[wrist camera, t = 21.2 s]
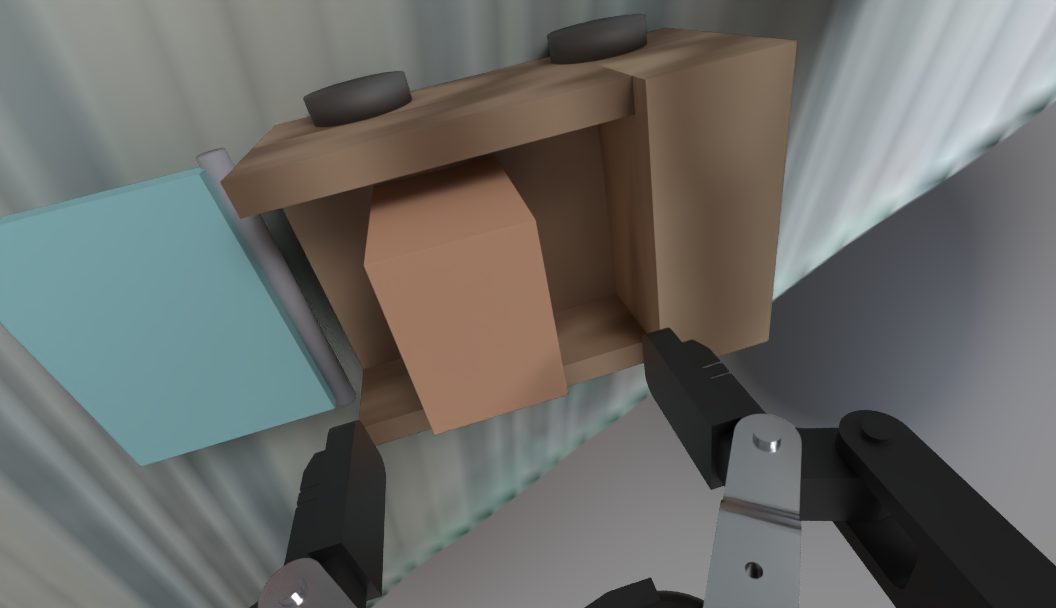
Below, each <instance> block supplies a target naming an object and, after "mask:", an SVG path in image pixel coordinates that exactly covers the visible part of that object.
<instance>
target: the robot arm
mask: <svg viewBox="0 0 1056 608" xmlns="http://www.w3.org/2000/svg"><path fill="white" fill-rule="evenodd" d="M642 345H643V356H644V367H645V376H646V381H647V384H648V387H649V389H650V392H651V394H652V396H653V397H654V399H655V401H656V402H657V404H658V406H659V407H660V409H661V410H662V412H663V414H664V415H665V417H666V418H667V420H668V421H669V423H670V425H671V426H672V428H673V430H674V431H675V433H676V434H677V436H678V438H679V439H680V441H681V442H682V444H683V446H684V447H685V449H686V451H687V452H688V454H689V455H690V457H691V459H692V460H693V462H694V463H695V465H696V467H697V468H698V470H699V471H700V473H701V475H702V476H703V478H704V480H705V481H706V483H707V484H708V486H709V487H710V489H711V490H712V489H715V488H718V487H721V486H725V490H724V496H723V500H721V503H720V508H719V514H718V520H717V526H716V532H715V539H714V544H713V550H712V556H711V562H710V568H709V574H708V580H707V586H706V593H705V599H704V600H702V599H699V598H697V597H694V596H691V595H689V594H684V593H680V592H674V591H657V590H656V588H655V586H654V583H653V581H652V579H651V578H648V579H645V580H642V581H639V582H636V583H633V584H630V585H627V586H624V587H621V588H618V589H615V590H612V591H609V592H607V593H605V594H604V595H603V596H601V597H600V598H598V599H597V600H595V601H594V602H592V603H591V604H589V605H588V606H586V607H585V608H799V594H800V593H799V592H800V560H801V521H833V523H834V524H835V525H836V527H837V528H838V529H839V531H840V532H841V533H842V535H843V536H844V537H845V539H846V540H847V542H848V543H849V544H850V546H851V547H852V548H853V550H854V551H855V552H856V554H857V555H858V556H859V558H860V559H861V561H862V562H863V563H864V565H865V566H866V567H867V569H868V570H869V572H870V573H871V574H872V575H873V577H874V578H875V580H876V581H877V582H878V584H879V585H880V586H881V588H882V589H883V591H884V592H885V593H886V595H887V596H888V597H889V599H890V600H891V601H892V603H893V604H894V605H895V607H896V608H1056V566H1055V565H1054V564H1053V563H1052V562H1051V561H1050V560H1049V559H1048V558H1046V556H1045V555H1043V554H1042V553H1041V552H1040V551H1039V550H1038V549H1037V548H1036V547H1035V546H1034V545H1033V544H1032V543H1031V542H1030V541H1029V540H1027V539H1026V538H1025V537H1024V536H1023V535H1022V534H1021V533H1020V532H1019V531H1018V530H1017V529H1016V528H1015V527H1014V526H1013V525H1011V524H1010V523H1009V522H1008V521H1007V520H1006V519H1005V518H1004V517H1003V516H1002V515H1001V514H1000V513H999V512H998V511H997V510H996V509H994V508H993V507H992V506H991V505H990V504H989V503H988V502H987V501H986V500H985V499H984V498H983V497H982V496H981V495H979V494H978V493H977V492H976V491H975V490H974V489H973V488H972V487H971V486H970V485H969V484H968V483H967V482H966V481H965V480H964V479H963V478H962V477H960V476H959V475H958V474H957V473H956V472H955V471H954V470H953V469H952V468H951V467H950V466H949V465H948V464H947V463H946V462H944V461H943V460H942V459H941V458H940V457H939V456H938V455H937V454H936V453H935V452H934V451H933V450H932V449H931V448H929V447H928V446H927V445H926V444H925V443H924V442H923V441H922V440H921V439H920V438H919V437H918V436H917V435H916V434H915V433H914V432H912V430H910V429H909V428H908V427H907V426H906V425H905V424H904V423H902V422H901V421H899V420H898V419H896V418H894V417H892V416H890V415H887V414H885V413H881V412H877V411H871V410H859V411H854V412H851V413H849V414H847V415H845V416H844V417H843V418H842V419H841V421H840V424H839V428H808V429H807V428H796V427H794V426H793V425H791V424H790V423H789V422H787V421H786V420H784V419H782V418H780V417H777V416H773V415H769V414H766V413H765V412H764V411H763V410H762V409H761V407H760V406H759V405H758V404H757V403H756V401H755V400H754V399H753V398H752V397H751V396H750V395H749V393H747V391H746V390H745V389H744V388H743V386H742V385H741V384H740V383H739V382H738V381H737V380H736V378H735V377H734V376H733V375H732V374H730V373H729V370H728V369H727V368H726V367H725V366H724V365H723V364H721V362H720V360H719V359H718V358H717V356H716V355H715V354H714V353H713V352H712V351H711V350H710V348H708V347H706V346H704V345H703V344H701V343H699V342H697V341H695V340H693V339H692V340H688V341H685V342H681V340H680V339H679V338H678V337H677V335H676V334H675V333H674V332H673V330H672V329H671V328H669V327H667V328H664V329H661V330H657V331H654V332H651V333H647V334H644V335H643V336H642ZM385 489H386V473H385V467H384V463H383V460H382V457H381V455H380V453H379V452H378V450H377V448H376V446H375V445H374V443H373V441H372V439H371V437H370V436H369V434H368V432H367V430H366V429H365V427H364V425H363V424H362V422H361V421H359V420H356V421H353V422H350V423H347V424H343V425H340V426H337V427H333V428H331V429H330V430H329V432H328V437H327V443H326V449H325V450H324V451H321V452H318V453H315V454H314V456H313V457H312V459H311V460H310V462H309V464H308V465H307V467H306V469H305V470H304V473H303V477H302V482H301V487H300V491H301V493H299V496H298V501H297V506H298V507H297V508H296V511H295V516H294V520H293V525H292V530H291V535H290V539H289V544H288V549H287V554H286V559H285V563H284V566H283V567H282V568H280V569H279V570H278V571H277V572H276V573H275V574H274V575H273V576H272V577H271V578H270V579H269V581H268V582H267V583H266V585H265V587H264V588H263V590H262V592H261V595H260V597H259V601H258V602H257V603H255V604H254V605H253V606H251V607H250V608H366V601H368V600H371V599H374V598H377V597H380V596H382V572H383V544H384V517H385Z"/></svg>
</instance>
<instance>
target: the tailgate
mask: <svg viewBox="0 0 1056 608" xmlns="http://www.w3.org/2000/svg"><path fill="white" fill-rule="evenodd" d="M196 159H197V161H198V163H199V164H200V166H201V167H198V168H194V169H190V170H186V171H182V172H178V173H174V174H170V175H166V176H162V177H159V178H155V179H151V180H147V181H143V182H139V183H135V184H131V185H127V186H123V187H119V188H115V189H111V190H107V191H103V192H99V193H95V194H91V195H88V196H84V197H80V198H76V199H72V200H68V201H64V202H60V203H56V204H52V205H48V206H44V207H40V208H36V209H32V210H28V211H24V212H20V213H17V214H13V215H9V216H5V217H1V218H0V322H1V323H2V324H3V325H4V326H5V327H6V328H7V329H8V330H9V332H10V333H11V334H12V335H13V336H14V337H15V338H16V339H17V340H18V341H19V342H20V343H21V344H22V345H23V346H24V347H25V348H26V349H27V350H28V351H29V352H30V353H31V354H32V355H33V356H34V357H35V358H36V359H37V360H38V361H39V362H40V363H41V364H42V365H43V366H44V367H45V368H46V369H47V370H48V372H49V373H50V374H51V375H52V376H53V377H54V378H55V379H56V380H57V381H58V382H59V383H60V384H61V385H62V386H63V387H64V388H65V389H66V390H67V391H68V392H69V393H70V394H71V395H72V396H73V397H74V398H75V399H76V400H77V401H78V402H79V403H80V404H81V405H82V406H83V407H84V408H85V409H86V410H87V412H88V413H89V414H90V415H91V416H92V417H93V418H94V419H95V420H96V421H97V422H98V423H99V424H100V425H101V426H102V427H103V428H104V429H105V430H106V431H107V432H108V433H109V434H110V435H111V436H112V437H113V438H114V439H115V440H116V441H117V442H118V443H119V444H120V445H121V446H122V447H123V448H124V449H125V450H126V452H127V453H128V454H129V455H130V456H131V457H132V458H133V459H134V460H135V461H136V462H137V463H138V464H139V465H140V466H144V465H148V464H151V463H154V462H158V461H161V460H164V459H168V458H171V457H174V456H178V455H181V454H184V453H188V452H191V451H194V450H198V449H201V448H205V447H208V446H211V445H215V444H218V443H221V442H225V441H228V440H231V439H235V438H238V437H241V436H245V435H248V434H251V433H255V432H258V431H261V430H265V429H268V428H271V427H275V426H278V425H282V424H285V423H288V422H292V421H295V420H298V419H302V418H305V417H308V416H312V415H315V414H318V413H322V412H325V411H328V410H332V409H335V404H337V405H338V406H345V405H348V404H350V403H351V402H352V401H354V399H355V398H356V393H355V391H354V389H353V387H352V386H351V384H350V382H349V380H348V378H347V376H346V374H345V372H344V371H343V369H342V367H341V365H340V363H339V361H338V359H337V357H336V356H335V354H334V352H333V350H332V348H331V346H330V344H329V342H328V341H327V339H326V337H325V335H324V333H323V331H322V329H321V327H320V326H319V324H318V322H317V320H316V318H315V316H314V314H313V312H312V311H311V309H310V307H309V305H308V303H307V301H306V299H305V297H304V296H303V294H302V292H301V290H300V288H299V286H298V284H297V282H296V281H295V279H294V277H293V275H292V273H291V271H290V269H289V267H288V266H287V264H286V262H285V260H284V258H283V256H282V254H281V252H280V251H279V249H278V247H277V245H276V243H275V241H274V239H273V237H272V236H271V234H270V232H269V230H268V228H267V226H266V224H265V222H264V221H263V219H262V217H261V215H260V214H257V215H254V216H250V217H246V218H242V219H240V217H239V215H238V214H237V212H236V210H235V208H234V206H233V205H232V203H231V201H230V199H229V198H228V196H227V194H226V192H225V190H224V189H223V187H222V185H221V183H220V181H221V180H222V179H223V178H224V177H225V176H226V175H227V174H228V173H229V172H230V171H231V170H232V169H233V168H234V167H235V166H234V164H233V162H232V161H231V159H230V157H229V155H228V153H227V151H226V149H225V148H220V149H215V150H211V151H208V152H205V153H203V154H200V155H198V156H197V157H196Z"/></svg>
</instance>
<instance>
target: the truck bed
mask: <svg viewBox="0 0 1056 608" xmlns="http://www.w3.org/2000/svg"><path fill="white" fill-rule="evenodd" d="M547 38H548V45H549V51H550V57H547V58H543V59H539V60H535V61H531V62H527V63H523V64H519V65H515V66H511V67H507V68H503V69H499V70H495V71H491V72H487V73H483V74H479V75H475V76H471V77H467V78H463V79H459V80H455V81H451V82H447V83H443V84H439V85H435V86H431V87H427V88H423V89H419V90H415V91H411V92H410V90H409V87H408V83H407V80H406V77H405V74H404V72H402V71H394V72H386V73H380V74H375V75H370V76H365V77H361V78H357V79H353V80H349V81H345V82H342V83H339V84H335V85H332V86H329V87H326V88H323V89H320V90H317V91H315V92H313V93H310V94H308V95H306V96H305V97H304V98H303V100H304V102H305V104H306V107H307V109H308V111H309V114H310V116H311V117H307V118H303V119H299V120H295V121H291V122H287V123H283V124H279V125H275V126H274V127H273V128H272V129H271V130H270V131H269V132H268V133H267V134H266V135H265V136H264V137H263V138H262V139H261V140H260V141H259V142H258V143H257V144H256V145H255V147H254V148H253V149H252V150H251V151H250V152H249V153H248V154H247V155H246V156H245V157H244V158H243V159H242V160H241V161H240V162H239V163H238V164H237V165H236V166H235V167H234V168H233V169H232V170H231V171H230V172H229V173H228V174H227V175H226V176H225V177H224V178H223V179H222V180H221V181H220V183H221V185H222V187H223V189H224V190H225V192H226V194H227V196H228V198H229V199H230V201H231V203H232V205H233V206H234V208H235V210H236V212H237V214H238V215H239V217H240V219H242V218H246V217H250V216H254V215H257V214H261V213H265V212H269V211H272V210H276V209H280V208H283V210H284V212H285V214H286V216H287V218H288V220H289V222H290V224H291V226H292V228H293V230H294V232H295V234H296V236H297V238H298V240H299V242H300V244H301V246H302V248H303V250H304V252H305V254H306V256H307V258H308V260H309V262H310V264H311V266H312V268H313V270H314V272H315V274H316V276H317V278H318V280H319V282H320V284H321V286H322V288H323V290H324V292H325V294H326V296H327V298H328V300H329V302H330V304H331V306H332V308H333V310H334V312H335V314H336V316H337V318H338V320H339V322H340V324H341V326H342V328H343V330H344V332H345V334H346V336H347V338H348V340H349V342H350V344H351V346H352V348H353V350H354V352H355V354H356V356H357V358H358V360H359V362H360V364H361V366H362V368H363V380H362V391H361V403H360V414H359V421H361V422H362V424H363V425H364V427H365V429H366V430H367V432H368V434H369V436H370V437H371V439H372V441H373V443H374V445H375V446H377V445H380V444H383V443H386V442H390V441H393V440H396V439H399V438H402V437H406V436H409V435H412V434H415V433H419V432H422V431H425V430H428V429H432V428H431V425H430V423H429V420H428V418H427V416H426V413H425V411H424V408H423V406H422V404H421V401H420V399H419V396H418V394H417V392H416V389H415V387H414V385H413V382H412V380H411V377H410V375H409V373H408V370H407V368H406V365H405V363H404V361H403V358H402V356H401V353H400V351H399V349H398V346H397V344H396V342H395V339H394V337H393V334H392V332H391V330H390V327H389V325H388V322H387V320H386V318H385V315H384V313H383V310H382V308H381V306H380V303H379V301H378V298H377V296H376V294H375V291H374V289H373V287H372V284H371V282H370V279H369V277H368V275H367V272H366V270H365V267H364V259H365V251H366V243H367V235H368V226H369V218H370V210H371V202H372V194H373V187H376V186H380V185H384V184H388V183H392V182H396V181H400V180H404V179H407V178H411V177H415V176H419V175H423V174H427V173H431V172H435V171H439V170H443V169H447V168H451V167H455V166H459V165H463V164H467V163H471V162H475V161H479V160H483V159H487V158H491V157H496V159H497V160H498V162H499V163H500V165H501V166H502V168H503V170H504V171H505V173H506V174H507V176H508V177H509V179H510V181H511V182H512V184H513V185H514V187H515V188H516V190H517V192H518V193H519V195H520V196H521V198H522V199H523V201H524V203H525V204H526V206H527V207H528V209H529V210H530V212H531V214H532V215H533V217H534V218H535V220H536V225H537V230H538V236H539V241H540V246H541V252H542V257H543V262H544V268H545V273H546V278H547V284H548V289H549V295H550V300H551V305H552V311H553V316H554V321H555V327H556V332H557V337H558V343H559V348H560V353H561V359H562V364H563V369H564V375H565V380H566V385H567V386H570V385H574V384H577V383H580V382H583V381H586V380H590V379H593V378H596V377H599V376H603V375H606V374H609V373H612V372H616V371H619V370H622V369H625V368H628V367H632V366H635V365H638V364H641V363H644V356H643V345H642V336H643V335H644V334H647V333H651V332H654V331H657V330H661V329H664V328H667V327H669V328H671V329H672V330H673V332H674V333H675V334H676V335H677V337H678V338H679V339H680V340H681V342H685V341H688V340H692V339H693V340H695V341H697V342H699V343H701V344H703V345H704V346H706V347H708V348H710V350H711V351H712V352H713V353H714V354H715V355H716V356H717V357H718V356H721V355H724V354H728V353H731V352H734V351H737V350H741V349H743V348H747V347H750V346H753V345H756V344H760V343H763V342H766V341H768V338H769V326H770V316H771V306H772V296H773V286H774V275H775V265H776V255H777V244H778V234H779V224H780V213H781V203H782V193H783V182H784V172H785V161H786V151H787V141H788V130H789V120H790V110H791V99H792V89H793V79H794V68H795V58H796V47H797V41H796V40H785V39H775V38H765V37H755V36H745V35H735V34H724V33H714V32H704V31H694V30H684V29H674V28H662V29H658V30H654V31H650V32H646V15H644V14H630V15H622V16H615V17H609V18H603V19H598V20H594V21H589V22H585V23H580V24H576V25H573V26H569V27H566V28H562V29H559V30H556V31H554V32H552V33H550V34H548V35H547Z"/></svg>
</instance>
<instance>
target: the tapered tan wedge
mask: <svg viewBox="0 0 1056 608" xmlns="http://www.w3.org/2000/svg"><path fill="white" fill-rule="evenodd" d="M364 267H365V270H366V272H367V275H368V277H369V279H370V282H371V284H372V287H373V289H374V291H375V294H376V296H377V298H378V301H379V303H380V306H381V308H382V310H383V313H384V315H385V318H386V320H387V322H388V325H389V327H390V330H391V332H392V334H393V337H394V339H395V342H396V344H397V346H398V349H399V351H400V353H401V356H402V358H403V361H404V363H405V365H406V368H407V370H408V373H409V375H410V377H411V380H412V382H413V385H414V387H415V389H416V392H417V394H418V396H419V399H420V401H421V404H422V406H423V408H424V411H425V413H426V416H427V418H428V420H429V423H430V425H431V428H432V430H433V432H434V435H435V434H439V433H442V432H445V431H449V430H452V429H455V428H459V427H462V426H465V425H469V424H472V423H475V422H479V421H482V420H485V419H489V418H492V417H495V416H499V415H502V414H505V413H509V412H512V411H515V410H518V409H522V408H525V407H528V406H532V405H535V404H538V403H542V402H545V401H548V400H552V399H555V398H558V397H562V396H565V395H568V391H567V385H566V380H565V375H564V369H563V364H562V359H561V353H560V348H559V343H558V337H557V332H556V327H555V321H554V316H553V311H552V305H551V300H550V295H549V289H548V284H547V278H546V273H545V268H544V262H543V257H542V252H541V246H540V241H539V236H538V230H537V225H536V220H535V218H534V217H533V215H532V214H531V212H530V210H529V209H528V207H527V206H526V204H525V203H524V201H523V199H522V198H521V196H520V195H519V193H518V192H517V190H516V188H515V187H514V185H513V184H512V182H511V181H510V179H509V177H508V176H507V174H506V173H505V171H504V170H503V168H502V166H501V165H500V163H499V162H498V160H497V159H496V157H491V158H487V159H483V160H479V161H475V162H471V163H467V164H463V165H459V166H455V167H451V168H447V169H443V170H439V171H435V172H431V173H427V174H423V175H419V176H415V177H411V178H407V179H404V180H400V181H396V182H392V183H388V184H384V185H380V186H376V187H373V194H372V202H371V210H370V218H369V226H368V235H367V243H366V251H365V259H364Z"/></svg>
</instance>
